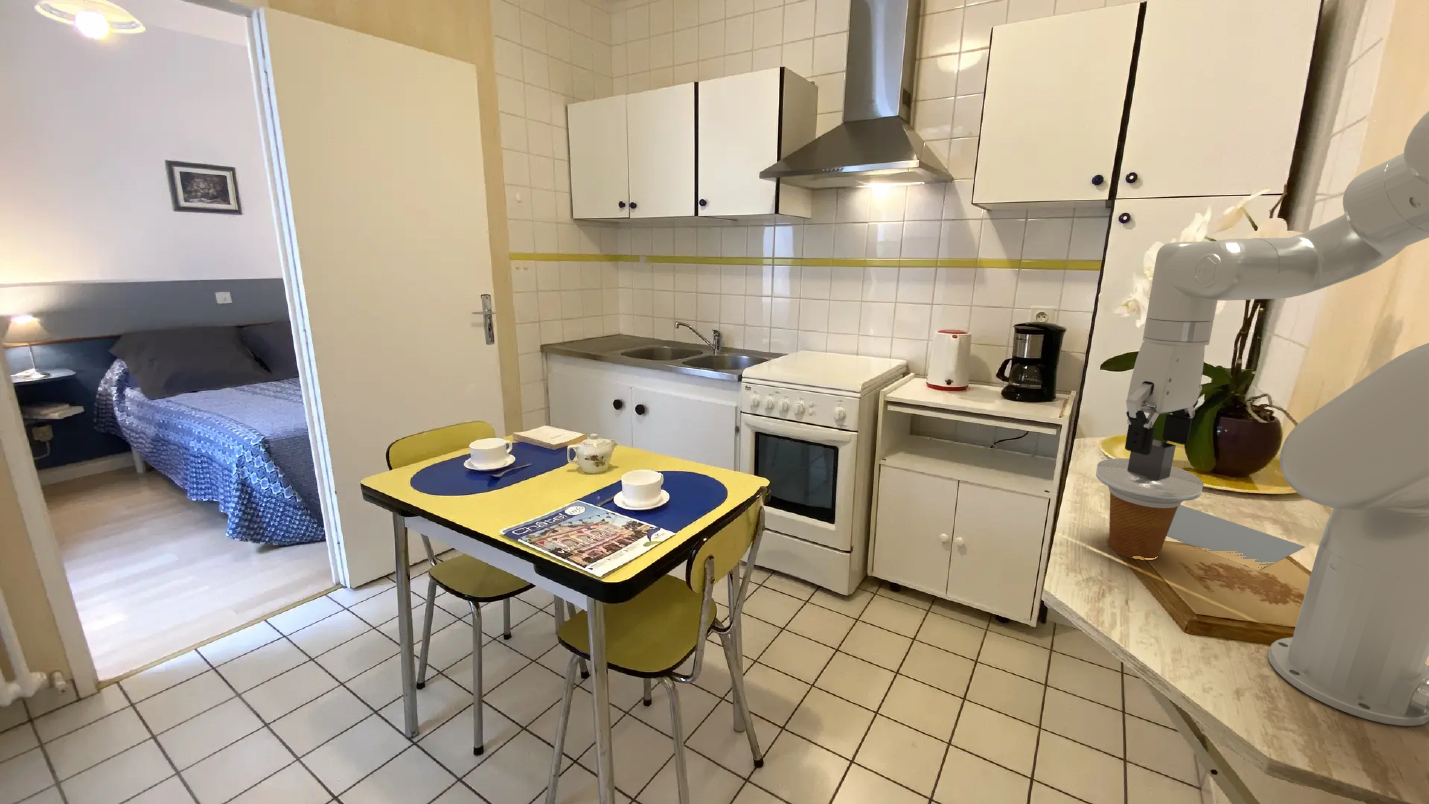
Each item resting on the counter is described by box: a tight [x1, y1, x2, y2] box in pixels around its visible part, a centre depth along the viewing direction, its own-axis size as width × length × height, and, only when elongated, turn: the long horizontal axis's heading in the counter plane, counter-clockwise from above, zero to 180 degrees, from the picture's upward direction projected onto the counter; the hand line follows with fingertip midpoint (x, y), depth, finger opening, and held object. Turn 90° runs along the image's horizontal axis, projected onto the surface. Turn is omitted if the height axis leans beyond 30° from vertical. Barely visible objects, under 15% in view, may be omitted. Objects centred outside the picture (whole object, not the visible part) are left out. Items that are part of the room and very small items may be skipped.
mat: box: [1166, 504, 1306, 568], centre depth 98 cm, size 20×15×1 cm
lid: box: [1095, 438, 1204, 502], centre depth 88 cm, size 13×13×6 cm
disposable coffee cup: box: [1107, 486, 1184, 559], centre depth 91 cm, size 10×10×12 cm
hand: (1156, 447), depth 87 cm, fingers open, 9 cm apart
